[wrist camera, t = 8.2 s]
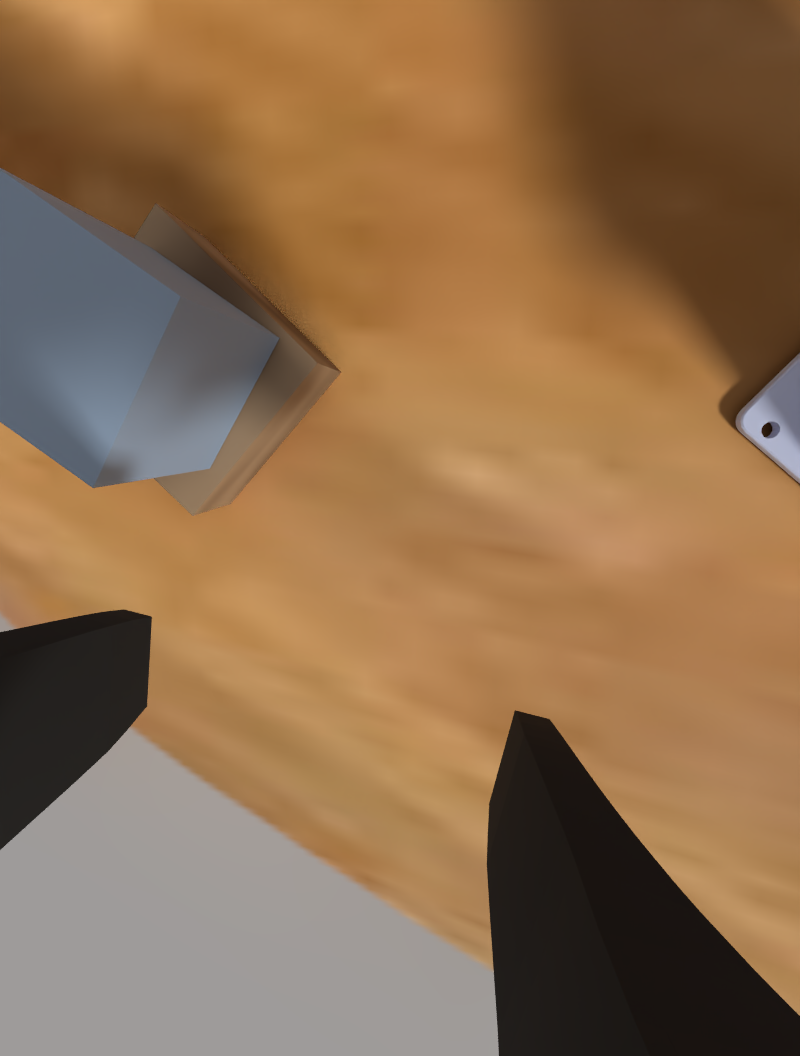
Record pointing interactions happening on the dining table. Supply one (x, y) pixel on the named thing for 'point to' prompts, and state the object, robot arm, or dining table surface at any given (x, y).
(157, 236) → the walnut block
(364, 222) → the dining table surface
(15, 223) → the blue cube
